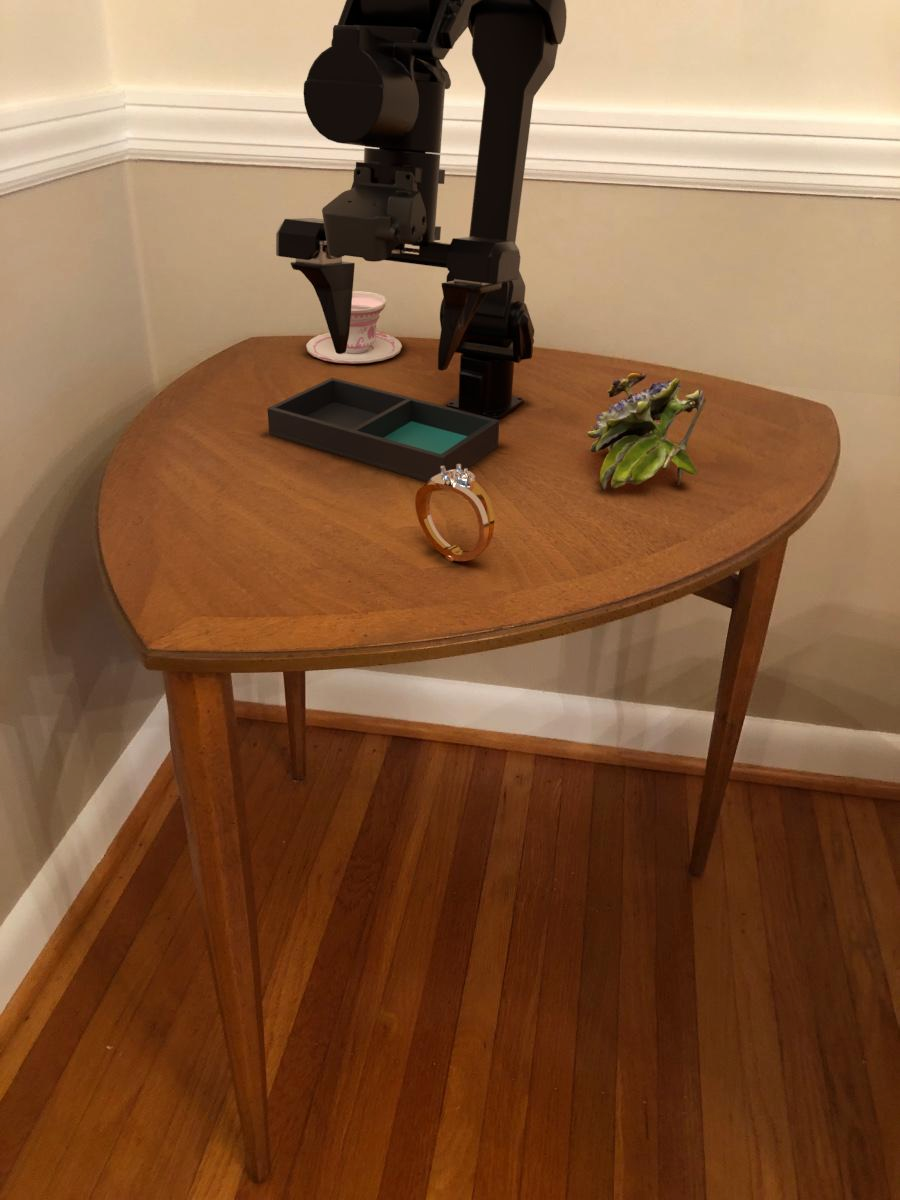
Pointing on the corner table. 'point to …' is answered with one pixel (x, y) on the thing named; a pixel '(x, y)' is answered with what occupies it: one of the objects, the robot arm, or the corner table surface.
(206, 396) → the corner table surface
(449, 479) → the ring
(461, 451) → the tray
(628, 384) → the passion flower
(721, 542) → the corner table surface
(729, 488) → the corner table surface
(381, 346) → the teacup
